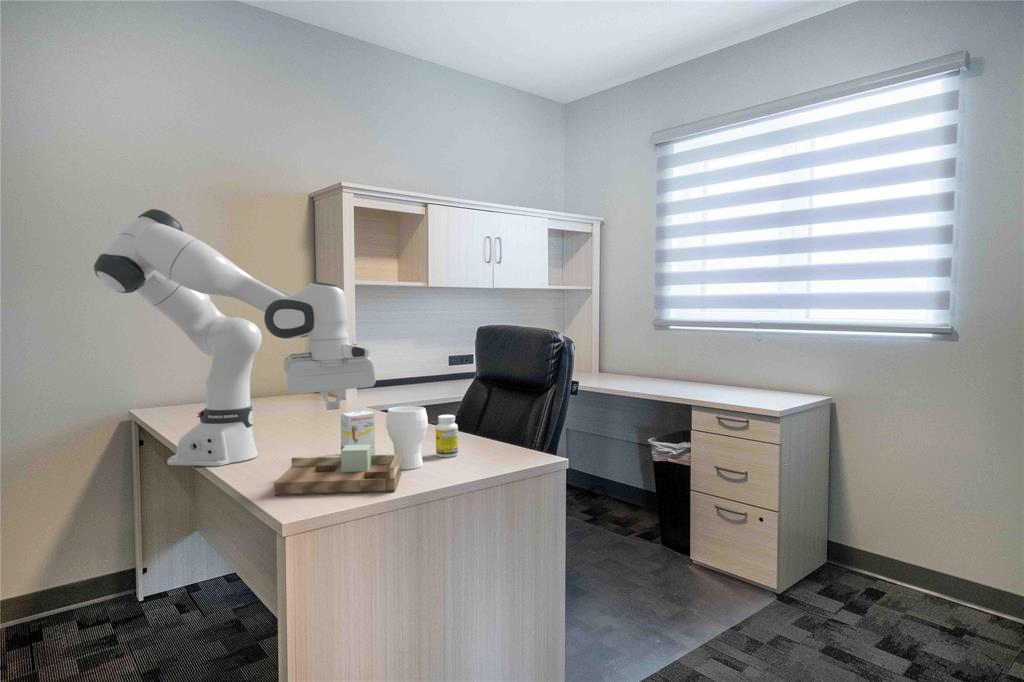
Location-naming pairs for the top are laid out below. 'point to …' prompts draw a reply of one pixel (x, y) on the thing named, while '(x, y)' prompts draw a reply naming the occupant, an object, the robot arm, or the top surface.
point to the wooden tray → (338, 476)
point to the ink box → (358, 429)
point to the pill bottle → (446, 436)
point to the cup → (407, 433)
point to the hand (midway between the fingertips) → (333, 409)
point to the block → (356, 458)
